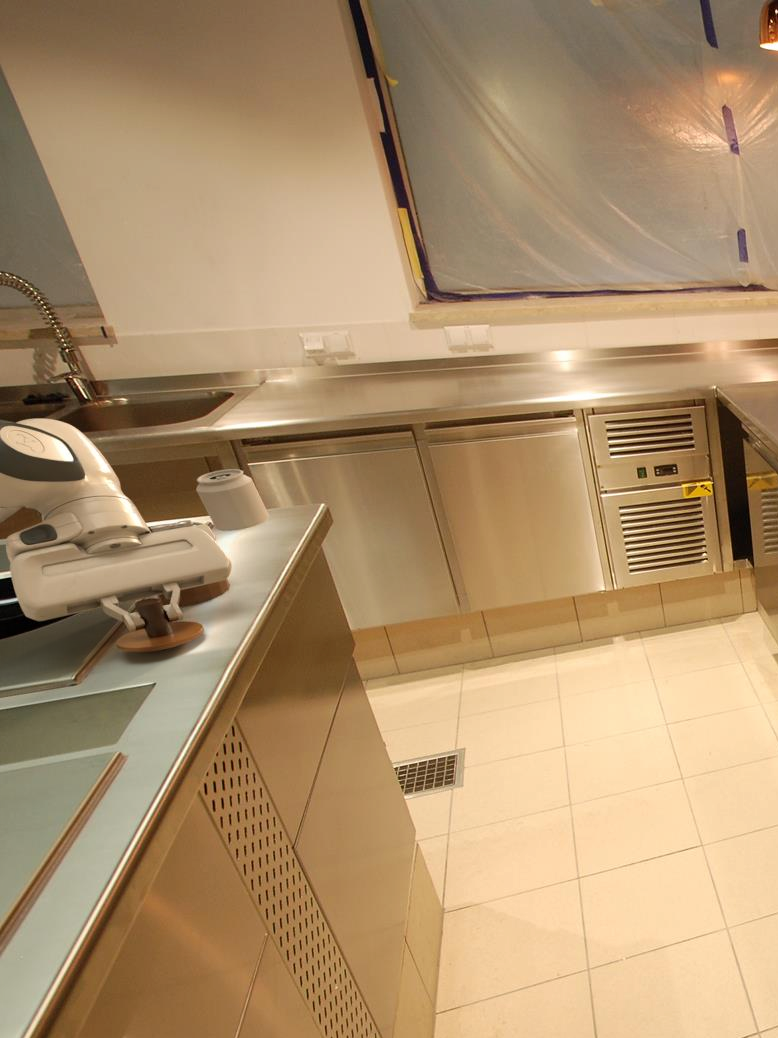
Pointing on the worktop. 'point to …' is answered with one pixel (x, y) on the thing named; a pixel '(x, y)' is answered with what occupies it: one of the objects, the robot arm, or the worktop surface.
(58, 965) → the worktop surface
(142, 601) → the basket lid
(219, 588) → the wooden cylinder
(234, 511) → the can
